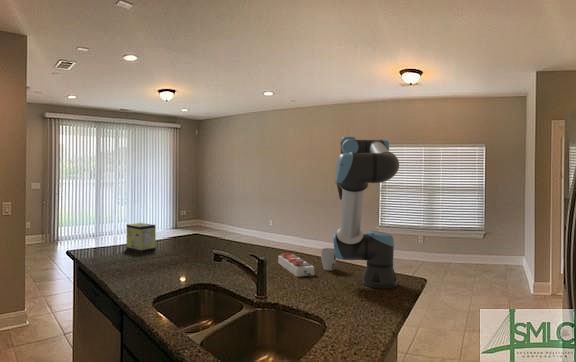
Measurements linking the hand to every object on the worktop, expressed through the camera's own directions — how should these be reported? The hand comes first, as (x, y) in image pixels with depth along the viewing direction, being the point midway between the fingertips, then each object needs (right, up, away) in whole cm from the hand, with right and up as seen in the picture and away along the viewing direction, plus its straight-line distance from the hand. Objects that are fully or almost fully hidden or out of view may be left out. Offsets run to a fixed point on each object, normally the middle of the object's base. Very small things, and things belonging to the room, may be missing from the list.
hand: (347, 213), depth 203 cm
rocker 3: (-25, -23, -9) cm, 35 cm away
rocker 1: (-31, -22, +8) cm, 39 cm away
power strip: (-26, -28, -3) cm, 38 cm away
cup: (-9, -29, 0) cm, 30 cm away
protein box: (-121, -26, +42) cm, 131 cm away
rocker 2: (-28, -23, -1) cm, 36 cm away
